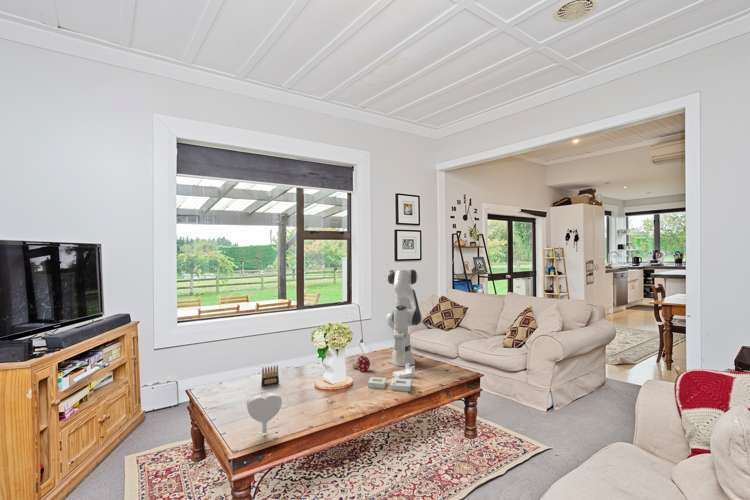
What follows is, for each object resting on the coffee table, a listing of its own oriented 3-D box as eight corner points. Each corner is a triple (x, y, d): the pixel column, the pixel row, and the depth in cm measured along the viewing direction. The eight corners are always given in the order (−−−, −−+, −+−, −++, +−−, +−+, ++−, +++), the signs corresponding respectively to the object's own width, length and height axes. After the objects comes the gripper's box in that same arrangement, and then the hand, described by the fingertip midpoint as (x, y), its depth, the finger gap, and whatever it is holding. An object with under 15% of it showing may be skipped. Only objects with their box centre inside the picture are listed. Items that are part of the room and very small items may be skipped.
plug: (396, 360, 235) (397, 342, 235) (404, 360, 234) (405, 342, 234) (396, 361, 232) (396, 343, 232) (404, 362, 231) (404, 343, 231)
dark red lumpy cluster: (349, 355, 273) (362, 352, 263) (361, 361, 278) (374, 358, 268) (346, 370, 267) (359, 367, 256) (357, 375, 272) (371, 373, 261)
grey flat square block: (371, 383, 242) (371, 376, 242) (386, 384, 240) (386, 378, 240) (367, 388, 232) (367, 382, 232) (383, 390, 230) (383, 383, 230)
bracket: (408, 374, 260) (408, 363, 259) (414, 377, 253) (414, 366, 253) (392, 377, 253) (392, 366, 253) (398, 380, 247) (398, 369, 247)
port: (392, 384, 240) (392, 377, 240) (411, 385, 238) (411, 378, 238) (389, 391, 229) (390, 383, 229) (409, 393, 226) (409, 385, 226)
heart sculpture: (279, 427, 184) (279, 390, 184) (282, 432, 179) (282, 394, 179) (246, 434, 177) (246, 396, 177) (248, 439, 173) (247, 400, 172)
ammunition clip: (261, 386, 235) (261, 367, 235) (261, 385, 237) (261, 366, 237) (279, 383, 240) (279, 365, 240) (278, 382, 242) (278, 364, 242)
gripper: (398, 328, 244) (397, 349, 244) (393, 336, 223) (393, 359, 224) (407, 328, 242) (407, 350, 243) (403, 336, 222) (403, 359, 223)
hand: (400, 354), depth 233 cm, fingers closed on plug, 3 cm apart
